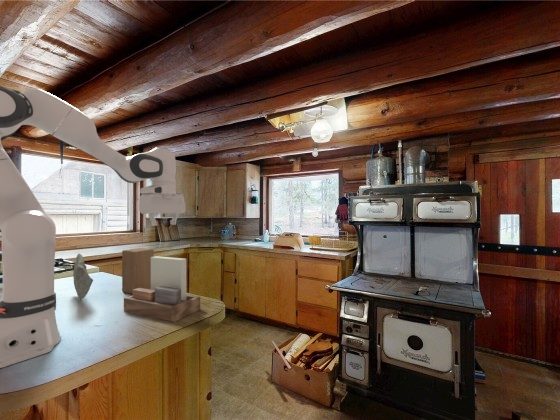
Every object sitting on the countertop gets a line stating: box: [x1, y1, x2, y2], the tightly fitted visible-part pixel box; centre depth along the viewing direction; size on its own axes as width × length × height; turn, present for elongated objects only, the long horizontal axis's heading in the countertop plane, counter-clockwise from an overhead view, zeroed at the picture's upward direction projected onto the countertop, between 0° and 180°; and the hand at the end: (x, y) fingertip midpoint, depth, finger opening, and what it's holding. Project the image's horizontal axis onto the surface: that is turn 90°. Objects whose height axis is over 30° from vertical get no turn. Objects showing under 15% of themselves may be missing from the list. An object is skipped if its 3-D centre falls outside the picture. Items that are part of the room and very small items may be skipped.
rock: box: [72, 253, 94, 301], centre depth 122 cm, size 27×6×20 cm, turn 42°
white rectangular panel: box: [151, 255, 187, 300], centre depth 112 cm, size 3×16×20 cm, turn 66°
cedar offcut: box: [132, 288, 155, 302], centre depth 109 cm, size 3×10×8 cm, turn 66°
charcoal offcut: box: [155, 286, 181, 306], centre depth 104 cm, size 3×10×10 cm, turn 66°
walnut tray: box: [123, 293, 201, 323], centre depth 109 cm, size 14×26×5 cm, turn 66°
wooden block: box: [121, 247, 154, 295], centre depth 136 cm, size 10×10×20 cm
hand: (164, 225), depth 110 cm, fingers open, 8 cm apart
